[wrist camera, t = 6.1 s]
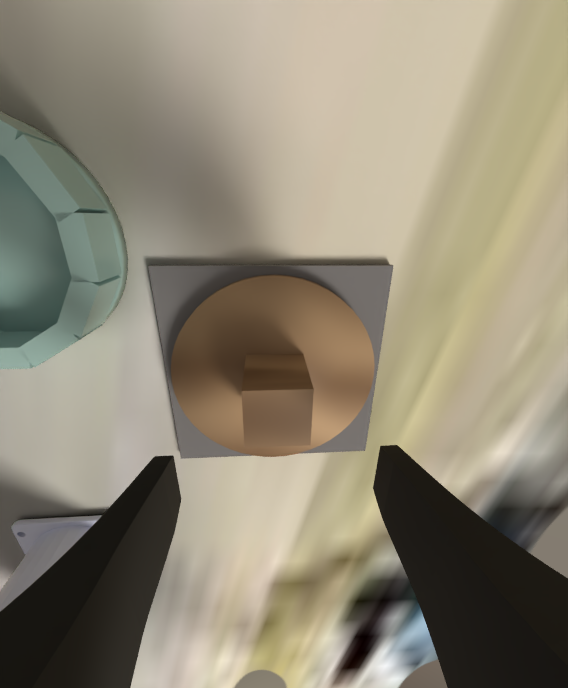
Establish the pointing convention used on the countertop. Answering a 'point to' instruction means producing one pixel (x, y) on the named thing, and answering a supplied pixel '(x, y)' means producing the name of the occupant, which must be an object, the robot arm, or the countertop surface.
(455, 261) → the countertop surface
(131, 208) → the countertop surface
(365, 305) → the mat
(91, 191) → the bowl
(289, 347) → the lid
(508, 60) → the countertop surface
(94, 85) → the countertop surface
